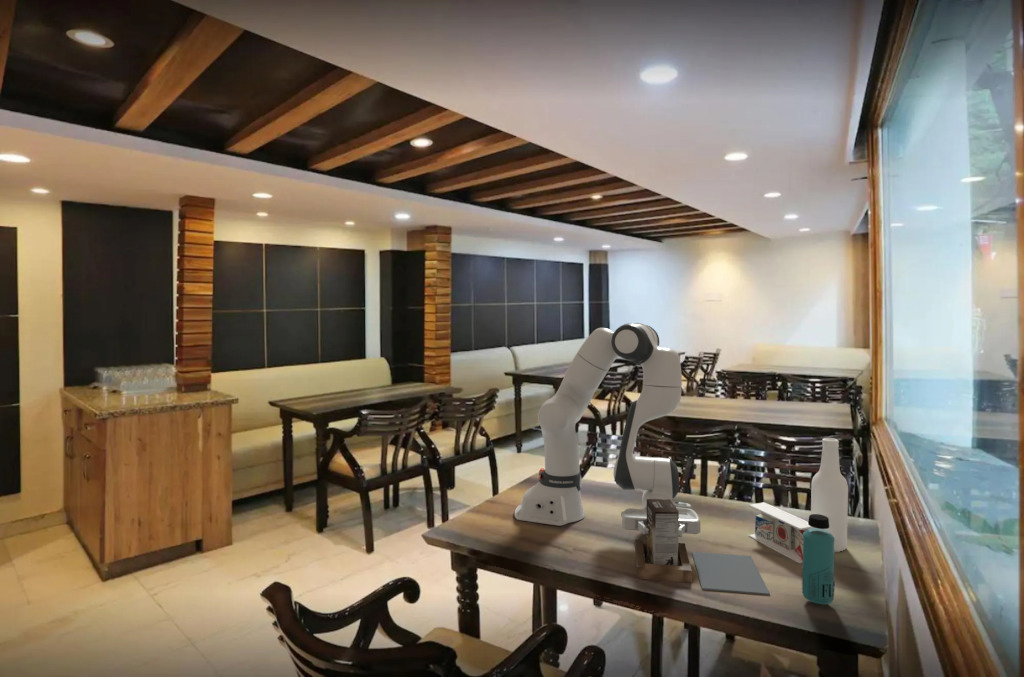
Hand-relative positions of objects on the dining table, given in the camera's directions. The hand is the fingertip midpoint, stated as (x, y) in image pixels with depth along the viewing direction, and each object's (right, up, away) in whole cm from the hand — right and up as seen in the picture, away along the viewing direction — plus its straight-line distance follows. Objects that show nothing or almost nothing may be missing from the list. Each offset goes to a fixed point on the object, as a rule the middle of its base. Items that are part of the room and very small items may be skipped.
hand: (662, 532), depth 144 cm
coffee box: (0, -9, +1) cm, 9 cm away
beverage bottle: (+30, -10, -18) cm, 36 cm away
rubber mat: (+16, -9, -3) cm, 18 cm away
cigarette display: (+36, -8, +11) cm, 39 cm away
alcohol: (+49, -8, +12) cm, 51 cm away
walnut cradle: (0, -9, +1) cm, 9 cm away
